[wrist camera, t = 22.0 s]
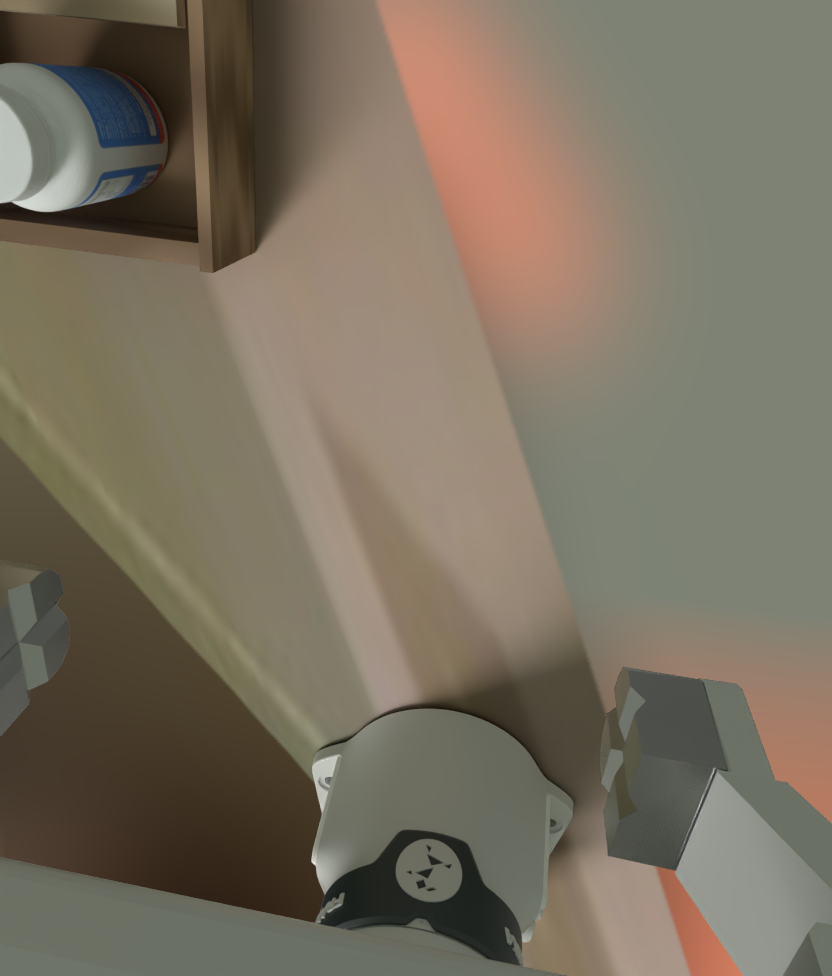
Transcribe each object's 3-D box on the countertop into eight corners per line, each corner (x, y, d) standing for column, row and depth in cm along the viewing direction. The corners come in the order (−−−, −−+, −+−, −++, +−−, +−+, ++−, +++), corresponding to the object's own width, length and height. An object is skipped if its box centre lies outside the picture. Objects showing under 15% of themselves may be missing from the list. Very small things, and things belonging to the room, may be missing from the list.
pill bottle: (66, 53, 34) (-96, 33, 25) (177, 88, 34) (53, 80, 25) (62, 177, 36) (-86, 197, 28) (165, 209, 36) (49, 239, 28)
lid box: (255, 252, 37) (212, 272, 32) (17, 222, 38) (-58, 238, 34) (251, -61, 31) (198, -93, 26) (-31, -85, 32) (-131, -119, 28)
